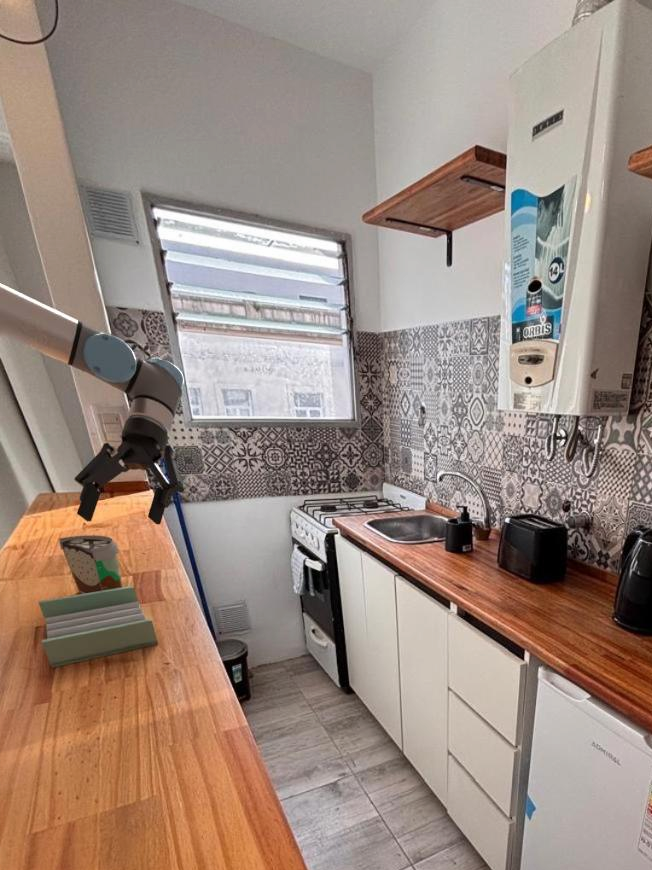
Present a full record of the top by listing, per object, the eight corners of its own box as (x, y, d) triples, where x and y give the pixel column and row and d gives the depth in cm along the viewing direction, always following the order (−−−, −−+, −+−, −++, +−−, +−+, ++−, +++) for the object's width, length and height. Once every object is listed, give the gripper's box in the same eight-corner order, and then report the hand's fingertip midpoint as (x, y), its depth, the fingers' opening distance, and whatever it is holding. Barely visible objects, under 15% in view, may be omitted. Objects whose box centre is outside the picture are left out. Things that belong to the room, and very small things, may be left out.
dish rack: (46, 623, 84) (38, 601, 82) (139, 606, 91) (133, 585, 89) (51, 668, 71) (41, 642, 69) (158, 644, 79) (152, 620, 77)
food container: (144, 594, 96) (130, 542, 92) (109, 604, 92) (93, 549, 87) (109, 581, 102) (94, 531, 97) (74, 590, 97) (57, 537, 93)
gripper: (217, 443, 108) (193, 532, 101) (100, 439, 109) (69, 526, 102) (198, 417, 101) (172, 510, 94) (74, 412, 102) (38, 505, 95)
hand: (118, 519), depth 98 cm, fingers open, 13 cm apart
